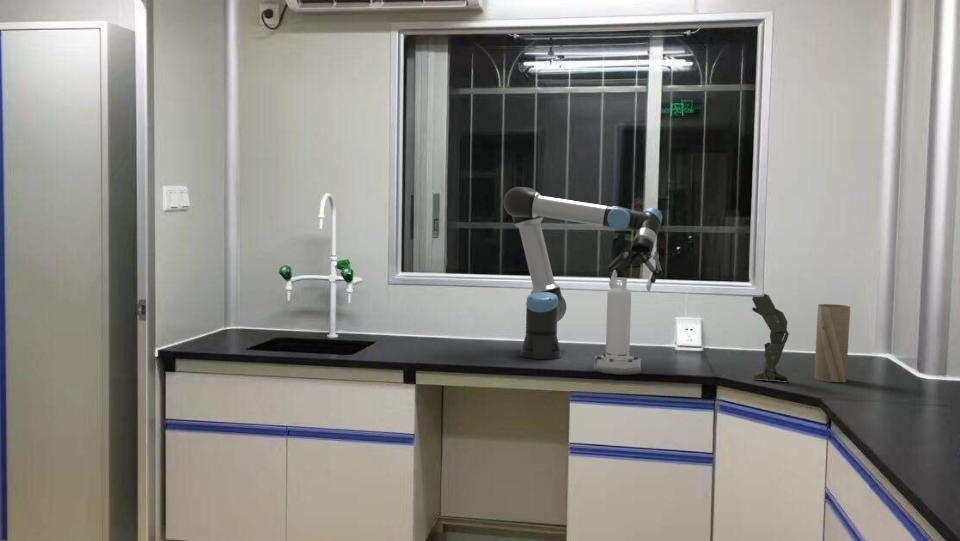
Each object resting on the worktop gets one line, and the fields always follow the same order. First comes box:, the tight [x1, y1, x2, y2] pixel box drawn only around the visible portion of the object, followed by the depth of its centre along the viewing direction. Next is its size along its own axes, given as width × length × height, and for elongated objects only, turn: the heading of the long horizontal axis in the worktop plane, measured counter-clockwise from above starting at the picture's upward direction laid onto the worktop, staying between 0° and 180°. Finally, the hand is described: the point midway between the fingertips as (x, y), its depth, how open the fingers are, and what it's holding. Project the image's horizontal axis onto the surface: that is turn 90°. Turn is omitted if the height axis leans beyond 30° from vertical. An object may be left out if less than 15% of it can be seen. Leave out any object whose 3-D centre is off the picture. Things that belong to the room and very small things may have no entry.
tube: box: [813, 303, 851, 383], centre depth 281 cm, size 10×10×25 cm
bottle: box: [605, 277, 632, 361], centre depth 289 cm, size 8×8×28 cm
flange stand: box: [593, 352, 642, 376], centre depth 291 cm, size 16×16×5 cm
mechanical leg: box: [751, 293, 790, 381], centre depth 278 cm, size 14×7×30 cm, turn 71°
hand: (629, 287), depth 295 cm, fingers open, 13 cm apart
